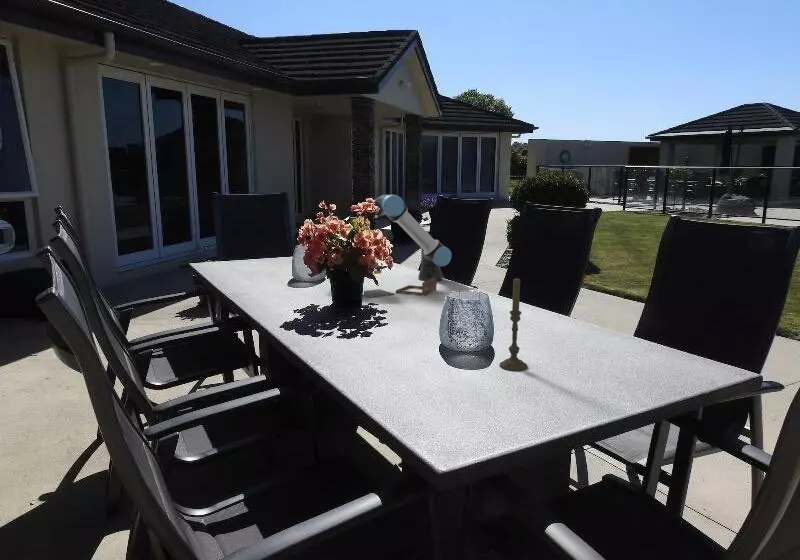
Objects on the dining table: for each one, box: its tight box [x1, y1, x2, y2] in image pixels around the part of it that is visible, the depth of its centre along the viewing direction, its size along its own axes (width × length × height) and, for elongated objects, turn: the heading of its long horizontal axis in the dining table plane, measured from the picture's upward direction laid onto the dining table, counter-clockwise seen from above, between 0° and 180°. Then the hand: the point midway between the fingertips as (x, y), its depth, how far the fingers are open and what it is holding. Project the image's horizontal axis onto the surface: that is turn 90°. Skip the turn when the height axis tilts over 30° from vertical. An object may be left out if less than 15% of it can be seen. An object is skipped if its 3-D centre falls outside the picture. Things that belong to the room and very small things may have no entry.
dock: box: [395, 278, 437, 296], centre depth 305 cm, size 17×17×7 cm
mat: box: [363, 288, 395, 299], centre depth 300 cm, size 15×15×1 cm
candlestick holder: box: [499, 278, 529, 372], centre depth 180 cm, size 9×9×30 cm
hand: (381, 261), depth 295 cm, fingers closed on plant pot, 10 cm apart
